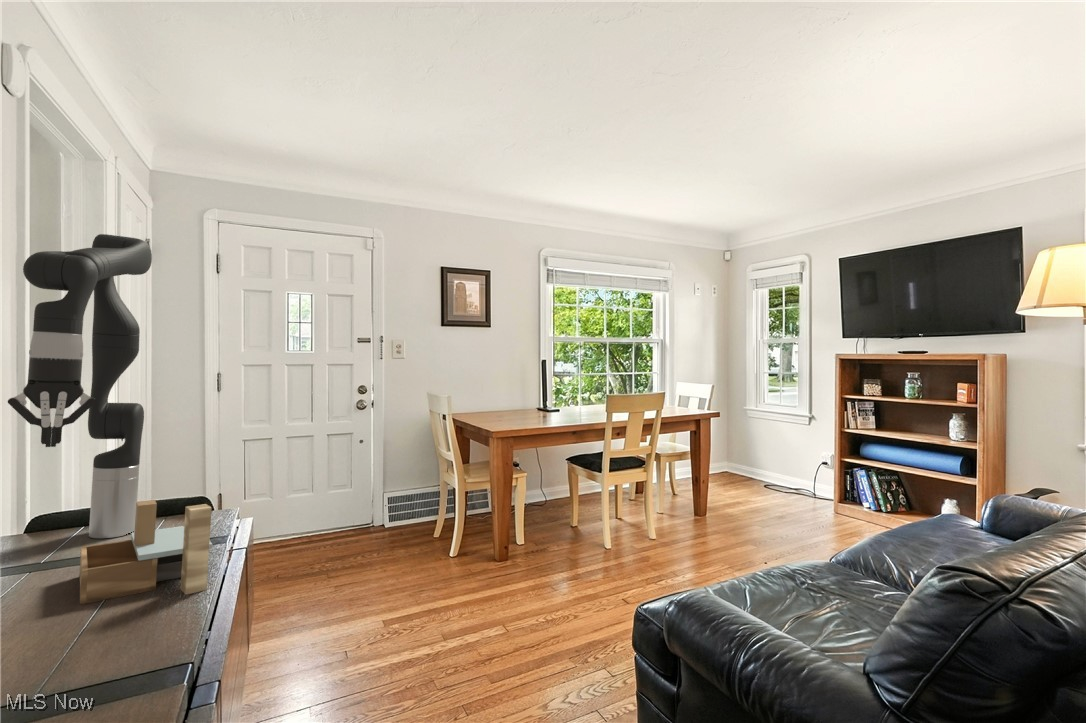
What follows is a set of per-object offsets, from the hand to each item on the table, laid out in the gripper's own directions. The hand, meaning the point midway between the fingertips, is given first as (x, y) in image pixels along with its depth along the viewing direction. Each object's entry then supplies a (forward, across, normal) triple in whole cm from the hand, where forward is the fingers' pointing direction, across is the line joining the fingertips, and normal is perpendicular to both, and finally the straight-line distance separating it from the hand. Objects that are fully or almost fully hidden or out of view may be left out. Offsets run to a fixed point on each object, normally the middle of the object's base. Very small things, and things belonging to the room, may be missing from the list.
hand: (50, 446), depth 100 cm
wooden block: (+27, -22, +17) cm, 39 cm away
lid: (+21, -20, +5) cm, 29 cm away
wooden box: (+27, -15, +5) cm, 31 cm away
